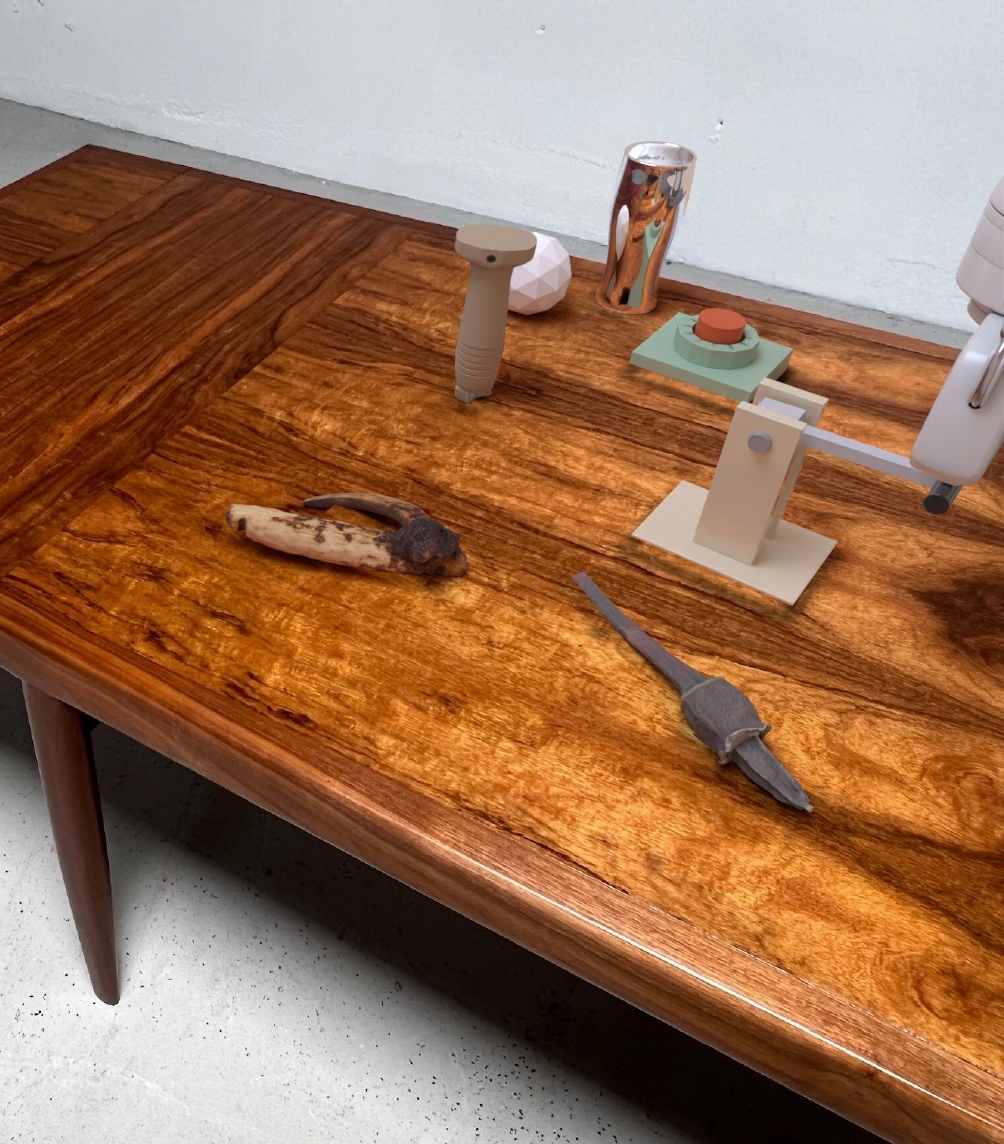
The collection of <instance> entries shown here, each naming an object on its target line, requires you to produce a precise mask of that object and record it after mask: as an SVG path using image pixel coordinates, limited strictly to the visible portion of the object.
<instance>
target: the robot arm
mask: <svg viewBox="0 0 1004 1144" xmlns="http://www.w3.org/2000/svg"><path fill="white" fill-rule="evenodd" d="M989 195H990V196H989V197H988V200H987V202H986V204H985V207H984V209H983V211H982V213H981V215H980V217H979V220H978V222H977V224H976V227H975V229H974V231H973V233H972V235H971V238H970V240H969V243H968V244H967V247H966V249H965V251H964V253H963V255H962V258H961V261H960V263H959V265H958V266H957V269H956V272H955V282H956V284H957V285H958V287H959V289H960V290H961V291H962V292H963V293H964V294H965V295H966V296H967V297H969V298H970V299H969V302H968V303H967V306H966V310H967V313H968V316H969V317H970V319H972V320H973V321H974V322H975V323H976V324H977V325H979V326H978V327H977V329H976V330H975V331H974V333H973V334H972V336H971V337H970V338H969V340H967V342H966V344H965V345H964V346H963V348H962V349H961V351H960V353H959V355H958V356H957V357H956V360H955V361H954V363H953V364H952V367H951V368H950V371H949V372H948V373H947V376H946V378H945V380H944V382H943V384H942V386H941V388H940V390H939V392H938V394H937V396H936V398H935V400H934V402H933V404H932V406H931V408H930V411H928V415H927V416H926V419H925V420H924V423H923V425H922V427H921V429H920V431H919V433H918V435H917V437H916V439H915V441H914V444H913V446H912V449H911V450H910V454H909V455H910V456H909V458H910V464H911V466H912V467H914V468H915V469H917V470H920V471H922V472H925V473H927V474H930V475H933V477H934V478H935V479H936V480H939V481H941V482H944V483H947V484H950V485H953V486H960V485H962V486H963V487H972V486H974V485H976V484H977V483H978V482H979V481H980V480H981V479H982V477H983V476H984V474H985V473H986V471H987V469H988V468H989V467H990V465H991V464H992V461H993V460H994V458H995V456H996V455H997V453H998V452H999V450H1000V448H1001V447H1002V445H1003V443H1004V174H1003V175H1002V176H1001V177H1000V179H999V181H998V182H997V183H996V184H995V186H994V187H993V189H992V191H991V193H990V194H989Z"/></svg>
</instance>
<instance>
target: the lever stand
mask: <svg viewBox="0 0 1004 1144" xmlns="http://www.w3.org/2000/svg"><path fill="white" fill-rule="evenodd" d="M765 397H767V398H770V399H773V400H776V401H779V402H782V403H786V404H789V405H792V406H795V407H798V408H801V409H804V410H806V414H805V417H804V420H803V422H802V421H799V420H796V419H793V418H790V417H788V416H785V415H782V414H779V413H776V412H773V411H770V410H768V409H765V408H762V407H759V406H758V405H759V404H760V402H761V401H762V400H763V399H764V398H765ZM829 401H830V398H828V397H825V396H822V395H819V394H816V393H813V392H810V391H807V390H804V389H801V388H799V387H795V386H792V385H790V384H787V383H783V382H780V381H777V380H776V381H775V380H772V379H769V378H766V377H765V378H764V379H763V380H762V381H761V382H760V383H759V386H758V389H757V392H756V395H755V398H754V401H753V400H752V403H751V402H749V403H748V402H745V401H742V402H739V403H738V404H737V406H736V407H735V410H734V413H733V417H732V419H731V422H730V425H729V428H728V431H727V434H726V438H725V441H724V443H723V447H722V449H721V453H720V455H719V459H718V461H717V465H716V468H715V470H714V473H713V476H712V479H711V483H710V486H709V489H707V488H705V487H702V486H699V485H697V484H695V483H692V482H689V481H687V480H684V479H682V480H681V481H680V482H679V483H678V484H677V485H676V487H674V488H673V490H672V491H671V492H670V493H669V494H668V495H667V496H666V497H665V498H664V499H663V500H662V501H661V502H660V503H659V504H658V505H657V506H656V508H654V510H653V511H651V513H649V515H648V516H647V517H646V518H645V519H644V520H643V521H642V522H641V523H639V525H638V527H636V529H635V530H634V531H633V532H632V533H631V534H630V536H631V537H632V538H635V539H637V540H640V541H641V542H644V543H647V544H649V545H650V546H653V547H656V548H658V549H661V550H662V551H665V552H667V553H670V554H672V555H674V556H676V557H678V558H681V559H683V560H685V561H687V562H690V563H692V564H695V565H697V566H699V567H701V568H704V569H706V570H709V571H711V572H713V573H715V574H718V575H720V576H722V577H725V578H727V579H730V580H732V581H733V582H736V583H739V584H741V585H744V586H745V587H748V588H750V589H753V590H755V591H757V592H759V593H762V594H763V595H766V596H768V597H771V598H773V599H775V600H778V601H780V602H782V603H784V604H787V605H789V606H793V607H794V605H795V604H796V602H797V601H798V600H799V598H800V597H801V596H802V594H803V593H804V590H805V589H806V588H807V587H808V585H809V584H810V583H811V581H812V580H813V579H814V577H815V576H816V575H817V573H818V572H819V570H820V569H821V567H822V566H823V565H824V563H825V562H826V560H827V559H828V558H829V556H830V555H831V553H832V552H833V550H834V549H836V547H837V545H838V543H839V541H838V540H835V539H833V538H831V537H828V536H825V535H822V534H821V533H818V532H816V531H813V530H810V529H808V528H805V527H802V526H800V525H798V524H795V523H793V522H790V521H788V520H785V519H784V515H785V514H786V510H787V508H788V505H789V503H790V501H791V498H792V495H793V493H794V490H795V488H796V485H797V482H798V480H799V479H800V476H801V472H802V469H803V468H804V465H805V462H806V459H807V457H808V455H809V452H810V449H811V448H809V447H806V446H803V445H800V443H801V441H802V438H803V435H804V433H805V430H806V428H807V425H809V426H813V427H816V428H819V426H820V424H821V421H822V419H823V416H824V413H825V411H826V408H827V406H828V404H829Z"/></svg>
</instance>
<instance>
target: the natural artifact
mask: <svg viewBox="0 0 1004 1144" xmlns="http://www.w3.org/2000/svg"><path fill="white" fill-rule="evenodd" d="M571 578H572V579H573V580H574V581H575V582H576V584H578V586H579V588H580V589H581V590H582V591H583V592H584V594H586V596H587V598H589V600H590V601H591V602H592V604H593V605H594V607H596V608H597V610H598V611H599V613H600V614H601V615H602V616H603V618H604V619H605V620H606V621H607V622H608V623H609V625H610V626H612V628H613V629H614V630H615V631H616V632H617V633H618V634H619V635H620V636H621V637H622V638H623V639H625V640H626V641H627V643H629V644H630V645H631V646H632V648H634V649H636V650H637V651H638V652H639V653H641V654H642V655H643V656H644V657H645V658H646V659H647V660H648V661H649V662H650V663H652V664H653V665H654V666H655V667H656V668H657V669H658V670H659V671H660V672H661V673H662V674H664V676H665V677H666V678H667V679H668V680H669V681H670V682H671V683H672V684H673V685H674V688H675V689H677V690H678V692H679V694H680V700H681V703H680V704H679V705H680V709H681V710H682V712H683V717H684V719H685V722H686V724H687V726H689V727H690V728H691V730H692V731H693V732H692V731H691V732H692V734H693V735H694V736H695V737H696V738H697V739H698V740H700V741H701V742H702V743H703V744H704V745H706V746H708V747H709V748H711V749H713V750H714V752H716V755H717V756H718V757H719V760H718V761H717V763H718V764H719V765H726V764H728V763H730V762H731V761H733V762H735V763H736V764H737V765H738V767H739V768H740V769H741V771H742V772H743V773H745V775H746V776H747V777H748V778H749V779H750V780H752V781H753V782H754V783H755V784H756V785H758V786H760V787H761V788H763V790H765V791H767V792H768V793H770V794H771V795H772V796H773V797H774V798H775V799H776V800H778V801H779V802H780V803H784V804H787V805H789V806H792V807H794V808H795V809H797V810H801V811H802V810H805V811H807V812H808V813H809V814H810V813H812V812H813V811H814V809H815V807H814V806H813V805H811V804H810V799H809V797H808V795H807V793H806V791H805V790H804V788H803V786H801V784H800V783H799V781H798V780H797V778H795V777H794V776H793V775H792V774H790V772H789V771H788V769H787V768H786V767H785V766H784V765H783V763H782V762H781V761H780V760H779V759H778V757H777V756H776V755H775V754H774V753H773V752H772V751H771V750H770V749H769V747H768V746H767V745H766V744H765V743H764V742H763V740H764V739H765V736H766V735H768V733H770V732H771V731H772V730H773V725H772V724H771V723H770V722H768V723H767V722H763V721H762V720H761V718H760V716H759V714H758V710H757V708H756V706H755V705H754V704H753V702H752V701H751V700H750V698H749V697H748V696H747V695H746V694H745V693H743V692H742V691H741V690H740V689H739V688H738V687H737V686H735V685H734V684H732V683H730V682H728V681H727V679H726V678H725V677H723V676H722V675H720V676H719V675H718V676H711V677H708V676H707V675H705V674H704V673H703V672H700V671H698V670H696V669H695V668H693V666H690V665H689V664H687V662H686V663H685V662H684V661H683V660H682V659H679V657H677V656H675V655H674V654H672V653H671V652H670V651H668V650H667V649H666V648H664V647H663V646H662V645H661V644H659V643H658V642H657V641H656V640H654V639H653V638H652V637H650V636H649V634H647V633H646V631H644V630H643V629H642V628H641V627H640V625H639V624H638V623H637V622H635V621H634V620H632V619H630V618H629V617H628V616H626V615H625V614H624V613H623V611H621V610H620V609H619V608H618V606H616V605H615V604H614V603H613V602H612V601H611V599H609V598H608V597H607V596H606V594H605V593H604V592H603V591H602V590H601V588H600V587H599V586H598V585H597V584H596V583H595V582H594V581H593V580H592V578H591V577H590V576H589V575H588V574H587V573H586V572H584V571H581V572H579V573H576V574H575V575H573V576H572V577H571Z"/></svg>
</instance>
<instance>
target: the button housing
mask: <svg viewBox="0 0 1004 1144" xmlns="http://www.w3.org/2000/svg"><path fill="white" fill-rule="evenodd" d="M698 317H699V314H695V315H689V314H686V313H684V312H680V311H678V312H677V313H676V314H675V315H674V316H672V317H671V318H670V319H669V320H668V321H667V322H665V323H664V324H663V325H662V326H661V327H659V328H658V329H657V330H656V331H655V332H654V333H652V334H651V335H650V336H649V337H648V338H646V339H645V340H644V341H643V342H641V343H640V345H638V346H637V347H635V348H634V350H632V351H631V356H630V359H629V364H630V365H633V366H636V367H639V368H641V369H645V370H648V371H650V372H653V373H656V374H659V375H661V376H665V377H668V378H669V379H673V380H676V381H679V382H681V383H685V384H688V385H690V386H693V387H696V388H699V389H701V390H705V391H707V392H710V393H712V394H715V395H718V396H722V397H724V398H727V399H730V400H733V401H735V402H738V403H741V402H742V401H745V402H748V403H751V401H752V402H753V401H754V398H755V395H756V392H757V389H758V386H759V383H760V382H761V381H762V380H763V379H764V378H765V377H766V378H769V379H772V380H775V381H777V380H778V379H779V378H780V377H781V376H782V375H783V374H784V373H785V372H786V371H787V370H788V366H789V362H790V361H791V357H792V355H793V352H794V348H793V347H790V346H786V345H784V344H780V343H777V342H775V341H771V340H767V339H765V338H761V337H760V336H759V333H758V330H756V329H755V328H754V327H752V326H751V325H749V324H748V323H746V326H745V329H744V332H743V335H742V338H741V341H740V342H739V343H737V344H732V345H721V344H713V343H710V342H707V341H704V340H701V339H700V338H699V337H697V336H696V335H695V334H694V331H695V328H696V324H697V321H698Z"/></svg>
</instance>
